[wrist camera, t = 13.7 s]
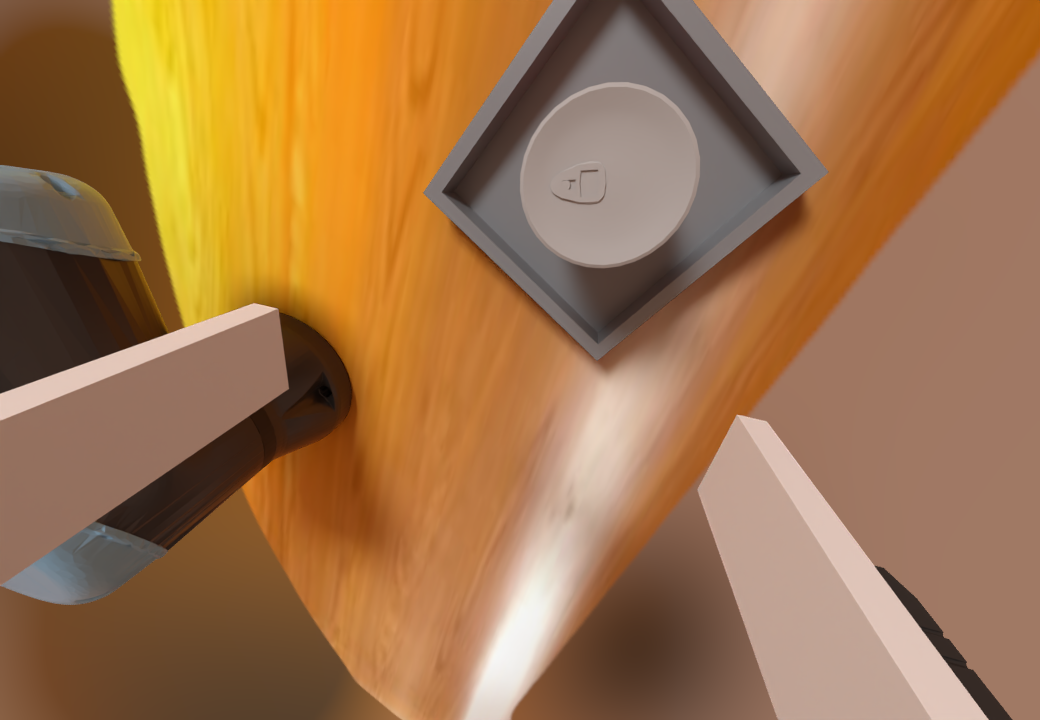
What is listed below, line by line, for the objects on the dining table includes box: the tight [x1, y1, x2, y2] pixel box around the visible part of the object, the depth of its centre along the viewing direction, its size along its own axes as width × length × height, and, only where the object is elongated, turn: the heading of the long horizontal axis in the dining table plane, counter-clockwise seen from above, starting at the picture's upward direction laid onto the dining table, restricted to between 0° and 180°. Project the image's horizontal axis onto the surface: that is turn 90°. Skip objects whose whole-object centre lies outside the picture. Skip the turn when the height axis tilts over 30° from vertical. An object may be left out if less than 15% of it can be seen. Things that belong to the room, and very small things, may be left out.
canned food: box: [520, 82, 700, 268], centre depth 21 cm, size 8×8×11 cm
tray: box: [423, 0, 828, 361], centre depth 26 cm, size 18×18×4 cm
